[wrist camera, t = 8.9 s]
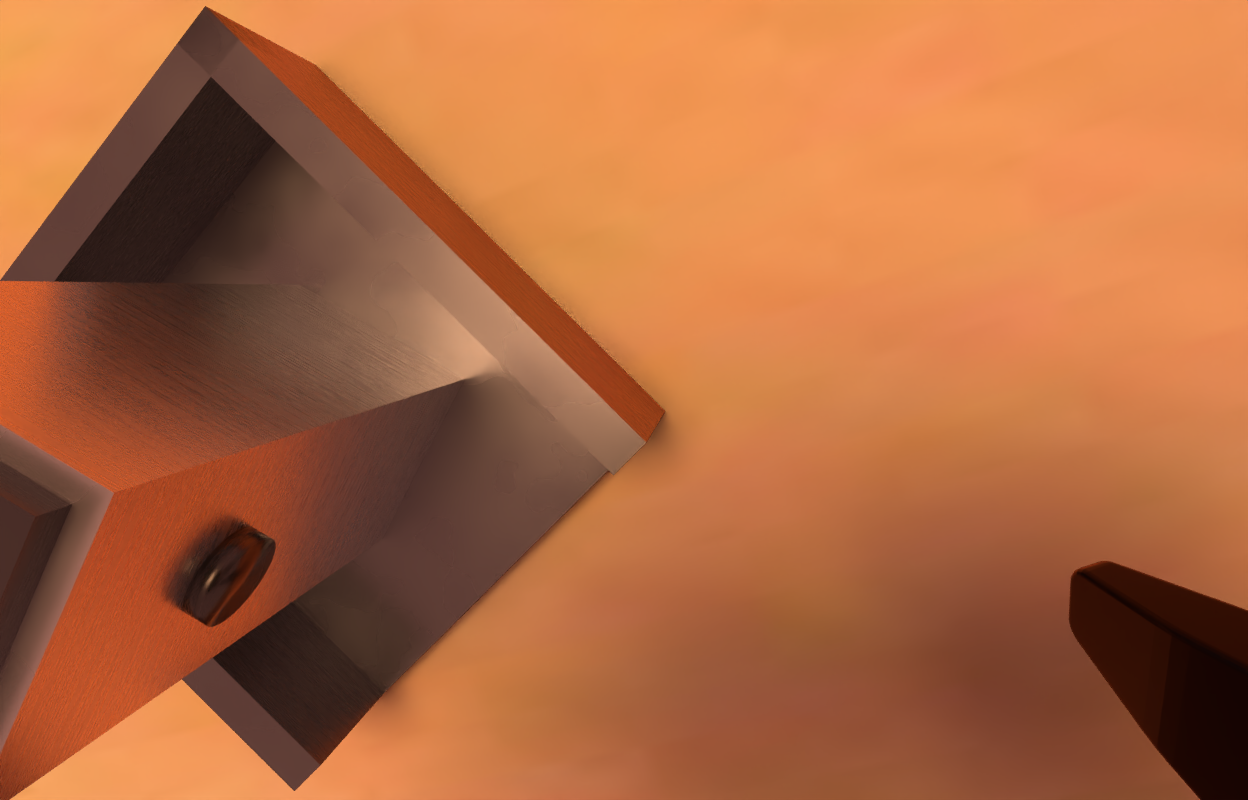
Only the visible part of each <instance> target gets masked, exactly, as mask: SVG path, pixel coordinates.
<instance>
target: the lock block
mask: <svg viewBox="0 0 1248 800" xmlns="http://www.w3.org/2000/svg"><path fill="white" fill-rule="evenodd" d="M463 380H464V379H463V378H461V377H459V376H457V375H456V374H454V373H452V372H450V371H449V370H447V369H445V368H444V367H442V366H440V365H438V364H437V363H435V362H433V361H431V360H430V359H428V358H426V357H425V356H423V355H421V354H419V353H418V352H416V351H414V350H412V349H411V348H409V347H407V346H405V345H404V344H402V343H400V342H399V341H397V340H395V339H393V338H392V337H390V336H388V335H386V334H385V333H383V332H381V331H380V330H378V329H376V328H374V327H373V326H371V325H369V324H367V323H366V322H364V321H362V320H360V319H359V318H357V317H355V316H354V315H352V314H350V313H348V312H347V311H345V310H343V309H341V308H340V307H338V306H336V305H335V304H333V303H331V302H329V301H328V300H326V299H324V298H322V297H321V296H319V295H317V294H315V293H314V292H312V291H310V290H309V289H307V288H305V287H303V286H302V285H283V284H203V283H123V282H43V281H0V800H9V799H11V798H12V797H14V796H15V795H17V794H18V793H19V792H21V791H22V790H24V789H25V788H27V787H28V786H29V785H31V784H32V783H34V782H35V781H37V780H38V779H39V778H41V777H42V776H44V775H45V774H47V773H48V772H49V771H51V770H52V769H54V768H55V767H57V766H58V765H59V764H61V763H62V762H64V761H65V760H67V759H68V758H69V757H71V756H72V755H74V754H75V753H77V752H78V751H80V750H81V749H82V748H84V747H85V746H87V745H88V744H90V743H91V742H92V741H94V740H95V739H97V738H98V737H100V736H101V735H102V734H104V733H105V732H107V731H108V730H110V729H111V728H112V727H114V726H115V725H117V724H118V723H120V722H121V721H122V720H124V719H125V718H127V717H128V716H130V715H131V714H132V713H134V712H135V711H137V710H138V709H140V708H141V707H142V706H144V705H145V704H147V703H148V702H150V701H151V700H152V699H154V698H155V697H157V696H158V695H160V694H161V693H162V692H164V691H165V690H167V689H168V688H170V687H171V686H173V685H174V684H175V683H177V682H178V681H180V680H181V679H183V678H184V677H185V676H187V675H188V674H190V673H191V672H193V671H194V670H195V669H197V668H198V667H200V666H201V665H203V664H204V663H205V662H207V661H208V660H210V659H211V658H213V657H214V656H215V655H217V654H218V653H220V652H221V651H223V650H224V649H225V648H227V647H228V646H230V645H231V644H233V643H234V642H235V641H237V640H238V639H240V638H241V637H243V636H244V635H245V634H247V633H248V632H250V631H251V630H253V629H254V628H255V627H257V626H258V625H260V624H261V623H263V622H264V621H265V620H267V619H268V618H270V617H271V616H273V615H274V614H276V613H277V612H278V611H280V610H281V609H283V608H284V607H286V606H287V605H288V604H290V603H291V602H293V601H294V600H296V599H297V598H298V597H300V596H301V595H303V594H304V593H306V592H307V591H308V590H310V589H311V588H313V587H314V586H316V585H317V584H318V583H320V582H321V581H323V580H324V579H326V578H327V577H328V576H330V575H331V574H333V573H334V572H336V571H337V570H338V569H340V568H341V567H343V566H344V565H346V564H347V563H348V562H350V561H351V560H353V559H354V558H356V557H357V556H358V555H360V554H361V553H363V552H364V551H366V550H367V549H369V548H370V547H371V546H373V545H374V544H376V543H377V542H379V541H380V540H381V539H382V538H383V536H384V534H385V532H386V530H387V528H388V526H389V524H390V522H391V520H392V518H393V516H394V514H395V512H396V510H397V508H398V506H399V505H400V503H401V501H402V499H403V497H404V495H405V493H406V491H407V489H408V487H409V485H410V483H411V481H412V479H413V477H414V475H415V473H416V471H417V469H418V468H419V466H420V464H421V462H422V460H423V458H424V456H425V454H426V452H427V450H428V448H429V446H430V444H431V442H432V440H433V438H434V436H435V434H436V433H437V431H438V429H439V427H440V425H441V423H442V421H443V419H444V417H445V415H446V413H447V411H448V409H449V407H450V405H451V403H452V401H453V399H454V397H455V396H456V394H457V392H458V390H459V388H460V386H461V384H462V382H463Z"/></svg>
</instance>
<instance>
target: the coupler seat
mask: <svg viewBox="0 0 1248 800" xmlns="http://www.w3.org/2000/svg"><path fill="white" fill-rule="evenodd" d="M0 281H43V282H123V283H203V284H283V285H302V286H303V287H305V288H307V289H309V290H310V291H312V292H314V293H315V294H317V295H319V296H321V297H322V298H324V299H326V300H328V301H329V302H331V303H333V304H335V305H336V306H338V307H340V308H341V309H343V310H345V311H347V312H348V313H350V314H352V315H354V316H355V317H357V318H359V319H360V320H362V321H364V322H366V323H367V324H369V325H371V326H373V327H374V328H376V329H378V330H380V331H381V332H383V333H385V334H386V335H388V336H390V337H392V338H393V339H395V340H397V341H399V342H400V343H402V344H404V345H405V346H407V347H409V348H411V349H412V350H414V351H416V352H418V353H419V354H421V355H423V356H425V357H426V358H428V359H430V360H431V361H433V362H435V363H437V364H438V365H440V366H442V367H444V368H445V369H447V370H449V371H450V372H452V373H454V374H456V375H457V376H459V377H461V378H463V379H464V380H463V382H462V384H461V386H460V388H459V390H458V392H457V394H456V396H455V397H454V399H453V401H452V403H451V405H450V407H449V409H448V411H447V413H446V415H445V417H444V419H443V421H442V423H441V425H440V427H439V429H438V431H437V433H436V434H435V436H434V438H433V440H432V442H431V444H430V446H429V448H428V450H427V452H426V454H425V456H424V458H423V460H422V462H421V464H420V466H419V468H418V469H417V471H416V473H415V475H414V477H413V479H412V481H411V483H410V485H409V487H408V489H407V491H406V493H405V495H404V497H403V499H402V501H401V503H400V505H399V506H398V508H397V510H396V512H395V514H394V516H393V518H392V520H391V522H390V524H389V526H388V528H387V530H386V532H385V534H384V536H383V538H382V539H381V540H380V541H379V542H377V543H376V544H374V545H373V546H371V547H370V548H369V549H367V550H366V551H364V552H363V553H361V554H360V555H358V556H357V557H356V558H354V559H353V560H351V561H350V562H348V563H347V564H346V565H344V566H343V567H341V568H340V569H338V570H337V571H336V572H334V573H333V574H331V575H330V576H328V577H327V578H326V579H324V580H323V581H321V582H320V583H318V584H317V585H316V586H314V587H313V588H311V589H310V590H308V591H307V592H306V593H304V594H303V595H301V596H300V597H298V598H297V599H296V600H294V601H293V602H291V603H290V604H288V605H287V606H286V607H284V608H283V609H281V610H280V611H278V612H277V613H276V614H274V615H273V616H271V617H270V618H268V619H267V620H265V621H264V622H263V623H261V624H260V625H258V626H257V627H255V628H254V629H253V630H251V631H250V632H248V633H247V634H245V635H244V636H243V637H241V638H240V639H238V640H237V641H235V642H234V643H233V644H231V645H230V646H228V647H227V648H225V649H224V650H223V651H221V652H220V653H218V654H217V655H215V656H214V657H213V658H211V659H210V660H208V661H207V662H205V663H204V664H203V665H201V666H200V667H198V668H197V669H195V670H194V671H193V672H191V673H190V674H188V675H187V676H185V677H184V678H183V679H182V680H183V681H184V682H185V683H186V684H187V685H188V686H189V687H190V688H191V689H192V690H193V691H194V692H195V693H196V694H197V695H198V696H199V697H200V698H201V699H202V700H203V701H204V702H205V703H206V704H207V705H208V706H209V707H210V708H211V709H212V710H213V711H214V712H215V713H216V714H217V715H218V716H219V717H220V718H221V719H222V720H223V721H224V722H225V723H226V724H227V725H228V726H229V727H230V728H231V729H232V730H233V731H234V732H235V733H236V734H237V735H238V736H239V737H240V738H241V739H242V740H243V741H244V742H245V743H246V744H247V745H248V746H249V747H250V748H252V749H253V750H254V751H255V752H256V753H257V754H258V755H259V756H260V757H261V758H262V759H263V760H264V761H265V762H266V763H267V764H268V765H269V766H270V767H271V768H272V769H273V770H274V771H275V772H276V773H277V774H278V775H279V776H280V777H281V778H282V779H283V780H284V781H285V782H286V783H287V784H288V785H289V786H290V787H291V788H292V789H293V790H294V791H295V790H296V789H297V788H298V787H299V786H300V785H301V784H302V783H303V782H304V781H305V780H306V779H307V778H308V777H309V776H310V775H311V774H312V773H313V772H314V771H315V770H316V769H317V768H318V767H319V766H320V765H321V764H322V763H323V762H324V761H325V760H326V758H327V757H328V756H329V755H330V754H331V753H332V752H333V750H334V749H335V748H336V747H337V746H338V745H339V744H340V742H341V741H342V740H343V739H344V738H345V737H346V736H347V735H348V733H349V732H350V731H351V730H352V729H353V728H354V727H355V725H356V724H357V723H358V722H359V721H360V720H361V719H362V717H363V716H364V715H365V714H366V713H367V712H368V711H369V709H370V708H371V707H372V706H373V705H374V704H375V703H376V702H377V700H378V699H379V698H380V697H381V696H382V695H383V694H384V692H385V691H386V690H388V689H389V688H390V687H391V686H392V685H393V684H394V683H395V682H396V681H397V680H398V679H399V678H400V677H401V676H402V675H403V674H404V673H405V672H406V671H407V670H408V669H409V668H410V667H411V666H412V665H413V664H414V663H415V662H416V661H417V660H418V659H419V658H420V657H421V656H422V655H423V654H424V653H425V652H426V651H427V650H428V649H429V648H430V647H431V646H432V645H433V644H434V643H435V642H436V641H437V640H438V639H439V638H440V637H441V636H442V635H443V634H444V633H445V632H446V631H447V630H448V629H449V628H450V627H451V626H452V625H453V624H454V623H455V622H456V621H457V620H458V619H459V618H460V617H461V616H462V615H463V614H464V613H465V612H466V611H467V610H468V609H469V608H470V607H471V606H472V605H473V604H474V603H475V602H476V601H477V600H478V599H479V598H480V597H481V596H482V595H483V594H484V593H485V592H486V591H487V590H488V589H489V588H490V587H491V586H492V585H493V584H494V583H495V582H496V581H497V580H498V579H499V578H500V577H501V576H502V575H503V574H504V573H505V572H506V571H507V570H508V569H509V568H510V567H511V566H512V565H513V564H514V563H515V562H516V561H517V560H518V559H519V558H520V557H521V556H522V555H523V554H524V553H525V552H526V551H527V550H528V549H529V548H530V547H531V546H532V545H533V544H534V543H535V542H536V541H537V540H538V539H539V538H540V537H541V536H542V535H543V534H545V533H546V532H547V531H548V530H549V529H550V528H551V527H552V526H553V525H554V524H555V523H556V522H557V521H558V520H559V519H560V518H561V517H562V516H563V515H564V514H565V513H566V512H567V511H568V510H569V509H570V508H571V507H572V506H573V505H574V504H575V503H576V502H577V501H578V500H579V499H580V498H581V497H582V496H583V495H584V494H585V493H586V492H587V491H588V490H589V489H590V488H591V487H592V486H593V485H594V484H595V483H596V482H597V481H598V480H599V479H600V478H601V477H602V476H603V475H604V474H605V473H606V472H607V471H608V470H609V471H610V472H611V473H612V474H613V475H614V474H615V473H616V472H617V471H618V470H619V469H620V468H621V467H622V466H623V465H624V464H625V463H626V462H627V461H628V460H629V459H630V458H631V457H632V456H633V455H634V454H635V453H636V452H637V451H638V450H639V449H640V448H641V447H642V446H643V445H644V444H645V443H646V442H647V441H648V439H649V437H650V436H651V434H652V432H653V431H654V429H655V427H656V426H657V424H658V422H659V421H660V419H661V417H662V416H663V414H664V412H665V410H664V409H662V408H661V407H660V406H659V405H658V404H657V403H656V402H655V401H654V400H653V399H652V398H651V397H650V396H649V395H648V394H647V393H646V392H645V391H644V390H643V389H642V388H641V387H640V386H639V385H638V384H637V383H636V382H635V381H634V380H633V379H632V378H631V377H630V376H629V375H628V374H627V373H626V372H625V371H624V370H623V369H622V368H621V367H620V366H619V365H618V364H617V363H616V362H615V361H614V360H613V359H612V358H611V357H610V356H609V355H608V354H607V353H606V352H605V351H604V350H603V349H602V348H601V347H600V346H599V345H598V344H597V343H596V342H595V341H594V340H593V339H592V338H591V337H590V336H589V335H588V334H587V333H586V332H585V331H584V330H583V329H582V328H581V327H580V326H579V325H578V324H577V323H576V322H575V321H574V320H573V319H572V318H571V317H570V316H569V315H568V314H566V313H565V312H564V311H563V310H562V309H561V308H560V307H559V306H558V305H557V304H556V303H555V302H554V301H553V300H552V299H551V298H550V297H549V296H548V295H547V294H546V293H545V292H544V291H543V290H542V289H541V288H540V287H539V286H538V285H537V284H536V283H535V282H534V281H533V280H532V279H531V278H530V277H529V276H528V275H527V274H526V273H525V272H524V271H523V270H522V269H521V268H520V267H519V266H518V265H517V264H516V263H515V262H514V261H513V260H512V259H511V258H510V257H509V256H508V255H507V254H506V253H505V252H504V251H503V250H502V249H501V248H500V247H499V246H498V245H497V244H496V243H495V242H494V241H493V240H492V239H491V238H490V237H489V236H488V235H487V234H486V233H485V232H484V231H483V230H482V229H481V228H480V227H479V226H478V225H477V224H476V223H475V222H474V221H473V220H471V219H470V218H469V217H468V216H467V215H466V214H465V213H464V212H463V211H462V210H461V209H460V208H459V207H458V206H457V205H456V204H455V203H454V202H453V201H452V200H451V199H450V198H449V197H448V196H447V195H446V194H445V193H444V192H443V191H442V190H441V189H440V188H439V187H438V186H437V185H436V184H435V183H434V182H433V181H432V180H431V179H430V178H429V177H428V176H427V175H426V174H425V173H424V172H423V171H422V170H421V169H420V168H419V167H418V166H417V165H416V164H415V163H414V162H413V161H412V160H411V159H410V158H409V157H408V156H407V155H406V154H405V153H404V152H403V151H402V150H401V149H400V148H399V147H398V146H397V145H396V144H395V143H394V142H393V141H392V140H391V139H390V138H389V137H388V136H387V135H386V134H385V133H384V132H383V131H382V130H381V129H380V128H379V127H378V126H376V125H375V124H374V123H373V122H372V121H371V120H370V119H369V118H368V117H367V116H366V115H365V114H364V113H363V112H362V111H361V110H360V109H359V108H358V107H357V106H356V105H355V104H354V103H353V102H352V101H351V100H350V99H349V98H348V97H347V96H346V95H345V94H344V93H343V92H342V91H341V90H340V89H339V88H338V87H337V86H336V85H335V84H334V83H333V82H332V81H331V80H330V79H329V78H328V77H327V76H326V75H325V74H324V73H323V72H322V71H321V70H320V69H319V68H318V67H317V66H316V65H315V64H313V63H311V62H309V61H307V60H305V59H303V58H302V57H300V56H298V55H296V54H294V53H292V52H290V51H288V50H287V49H285V48H283V47H281V46H279V45H277V44H275V43H273V42H272V41H270V40H268V39H266V38H264V37H262V36H260V35H258V34H257V33H255V32H253V31H251V30H249V29H247V28H245V27H243V26H242V25H240V24H238V23H236V22H234V21H232V20H230V19H228V18H227V17H225V16H223V15H221V14H219V13H217V12H215V11H213V10H212V9H210V8H208V7H206V6H205V7H204V9H203V10H202V11H201V13H200V14H199V15H198V17H197V18H196V19H195V21H194V22H193V23H192V25H191V26H190V27H189V29H188V30H187V31H186V33H185V34H184V35H183V37H182V38H181V39H180V41H179V42H178V43H177V45H176V46H175V47H174V49H173V50H172V51H171V53H170V54H169V55H168V57H167V58H166V59H165V61H164V62H163V63H162V65H161V66H160V67H159V69H158V70H157V71H156V73H155V74H154V76H153V77H152V78H151V80H150V81H149V82H148V84H147V85H146V86H145V88H144V89H143V90H142V92H141V93H140V94H139V96H138V97H137V98H136V100H135V101H134V102H133V104H132V105H131V106H130V108H129V109H128V110H127V112H126V113H125V114H124V116H123V117H122V118H121V120H120V121H119V122H118V124H117V125H116V126H115V128H114V129H113V130H112V132H111V133H110V134H109V136H108V137H107V138H106V140H105V141H104V142H103V144H102V145H101V146H100V148H99V149H98V150H97V152H96V153H95V154H94V156H93V157H92V158H91V160H90V161H89V162H88V164H87V165H86V166H85V168H84V169H83V170H82V172H81V173H80V174H79V176H78V177H77V178H76V180H75V181H74V182H73V184H72V185H71V186H70V188H69V189H68V190H67V192H66V193H65V194H64V196H63V197H62V198H61V200H60V201H59V202H58V204H57V205H56V206H55V208H54V209H53V210H52V212H51V213H50V215H49V216H48V217H47V219H46V220H45V221H44V223H43V224H42V225H41V227H40V228H39V229H38V231H37V232H36V233H35V235H34V236H33V237H32V239H31V240H30V241H29V243H28V244H27V245H26V247H25V248H24V249H23V251H22V252H21V253H20V255H19V256H18V257H17V259H16V260H15V261H14V263H13V264H12V265H11V267H10V268H9V269H8V271H7V272H6V273H5V275H4V276H3V277H2V279H1V280H0Z"/></svg>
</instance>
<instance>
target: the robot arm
mask: <svg viewBox="0 0 1248 800" xmlns="http://www.w3.org/2000/svg"><path fill="white" fill-rule="evenodd" d="M1069 622H1070V627H1071V630H1072V632H1073V634H1074V636H1075V638H1076V639H1077V641H1078V642H1079V644H1080V645H1081V646H1082V648H1083V649H1084V651H1085V652H1086V653H1087V655H1088V656H1089V657H1090V659H1091V660H1092V662H1093V663H1094V664H1095V666H1096V667H1097V669H1098V670H1099V671H1100V673H1101V674H1102V675H1103V677H1104V678H1105V680H1106V681H1107V682H1108V684H1109V685H1110V686H1111V688H1112V689H1113V691H1114V692H1115V693H1116V695H1117V696H1118V697H1119V699H1120V700H1121V702H1122V703H1123V704H1124V706H1125V707H1126V709H1127V710H1128V711H1129V713H1130V714H1131V715H1132V717H1133V718H1134V720H1135V721H1136V722H1137V724H1138V725H1139V726H1140V728H1141V729H1142V731H1143V732H1144V733H1145V735H1146V736H1147V737H1148V738H1149V740H1150V741H1151V742H1152V744H1153V745H1154V746H1155V748H1156V749H1157V750H1158V751H1159V752H1160V754H1161V755H1162V756H1163V757H1164V758H1165V760H1166V761H1167V762H1168V763H1169V764H1170V765H1171V767H1172V768H1173V769H1174V770H1175V771H1176V772H1177V773H1178V775H1179V776H1180V777H1181V778H1182V779H1183V780H1184V781H1185V783H1186V784H1187V785H1188V786H1189V787H1190V788H1191V789H1192V791H1193V792H1194V793H1195V794H1196V795H1197V796H1198V797H1199V798H1200V800H1248V610H1245V609H1243V608H1240V607H1237V606H1234V605H1231V604H1229V603H1226V602H1223V601H1220V600H1217V599H1215V598H1212V597H1209V596H1206V595H1203V594H1201V593H1198V592H1195V591H1192V590H1189V589H1187V588H1184V587H1181V586H1178V585H1175V584H1173V583H1170V582H1167V581H1164V580H1161V579H1159V578H1156V577H1153V576H1150V575H1147V574H1145V573H1142V572H1139V571H1136V570H1133V569H1131V568H1128V567H1125V566H1122V565H1119V564H1117V563H1113V562H1110V561H1100V562H1097V563H1094V564H1091V565H1088V566H1085V567H1082V568H1079V569H1077V570H1075V571H1074V573H1073V574H1072V576H1071V585H1070V604H1069Z"/></svg>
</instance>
